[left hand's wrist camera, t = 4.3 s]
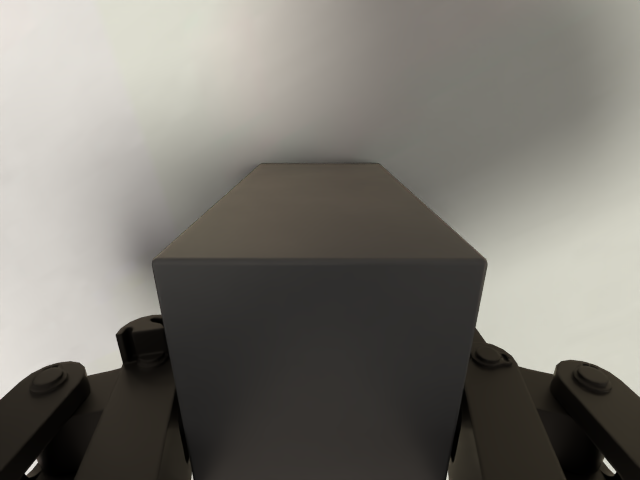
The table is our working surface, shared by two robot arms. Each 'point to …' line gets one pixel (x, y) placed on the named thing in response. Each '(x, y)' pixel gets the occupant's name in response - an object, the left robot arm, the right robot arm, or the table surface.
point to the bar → (319, 327)
